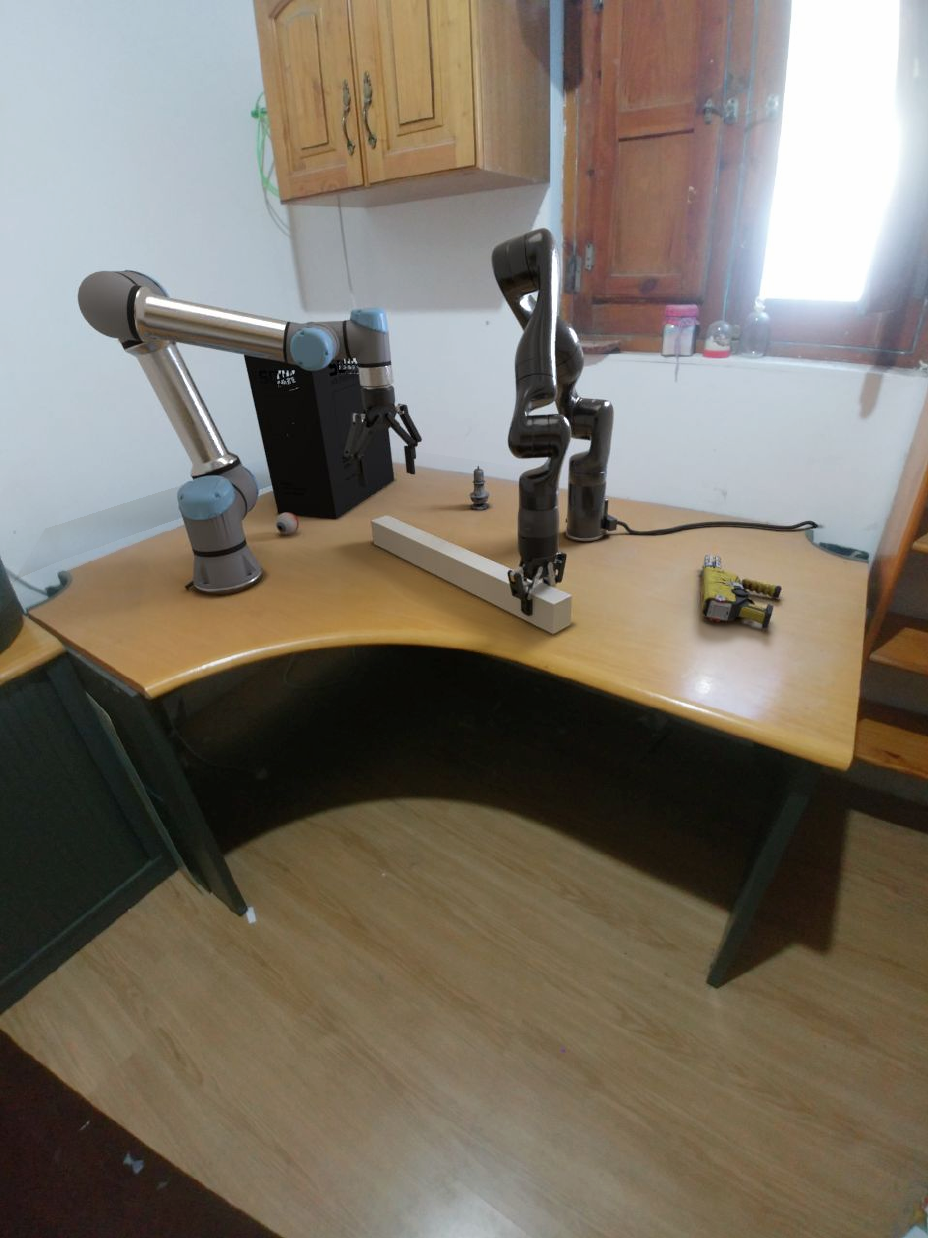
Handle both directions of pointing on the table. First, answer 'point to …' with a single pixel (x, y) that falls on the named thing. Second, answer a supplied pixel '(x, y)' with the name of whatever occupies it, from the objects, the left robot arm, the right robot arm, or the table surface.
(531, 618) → the bar
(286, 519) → the eyeball
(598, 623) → the table surface
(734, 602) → the toy gun
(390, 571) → the table surface
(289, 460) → the cardboard box
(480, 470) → the salt shaker
